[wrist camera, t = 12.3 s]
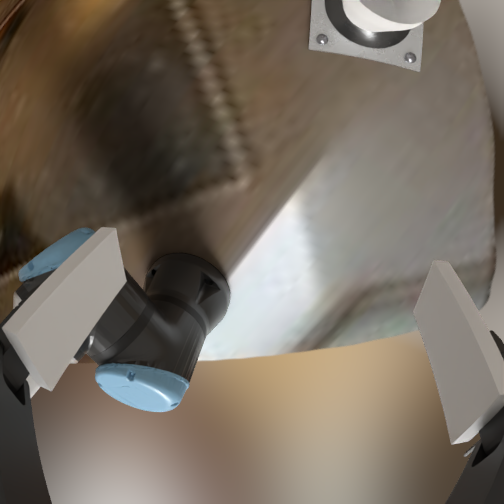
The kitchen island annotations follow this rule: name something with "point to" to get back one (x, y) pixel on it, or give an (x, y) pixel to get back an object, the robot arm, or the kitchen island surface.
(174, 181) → the kitchen island surface
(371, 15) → the cup
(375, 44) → the flange
